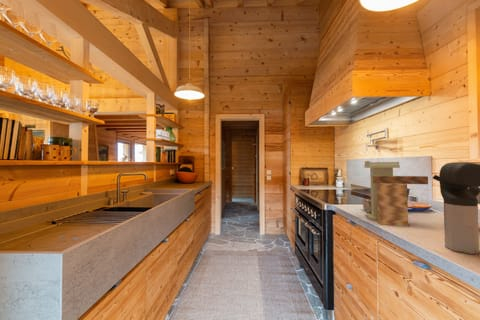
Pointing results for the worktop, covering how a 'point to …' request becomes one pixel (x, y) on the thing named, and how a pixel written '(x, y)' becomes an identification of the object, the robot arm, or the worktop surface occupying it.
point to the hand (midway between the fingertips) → (437, 177)
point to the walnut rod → (400, 179)
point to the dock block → (392, 204)
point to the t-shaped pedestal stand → (376, 170)
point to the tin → (367, 205)
